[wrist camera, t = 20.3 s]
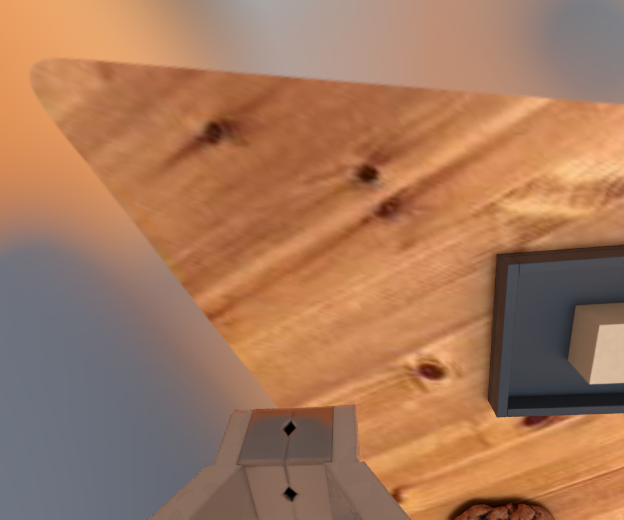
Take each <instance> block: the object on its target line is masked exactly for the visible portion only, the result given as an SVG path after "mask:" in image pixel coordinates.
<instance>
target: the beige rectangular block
mask: <svg viewBox="0 0 624 520" xmlns="http://www.w3.org/2000/svg"><path fill="white" fill-rule="evenodd" d="M568 361H569V362H570V363H571V364H572V365H573V367H574V368H575V369H576V370H577V371H578V372H579V373H580V374H581V375H582V377H583V378H584V379H585V380H586V381H587V382H588V383H589V384H609V383H624V303H608V304H590V305H576V307H575V314H574V321H573V328H572V335H571V341H570V348H569V355H568Z"/></svg>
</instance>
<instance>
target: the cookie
mask: <svg viewBox="0 0 624 520" xmlns="http://www.w3.org/2000/svg"><path fill="white" fill-rule="evenodd" d="M454 520H555V518H554V517H553V516H552V515H551V514H550V513H549V512H548V511H546V510H545V509H544V508H541V507H540V506H538V507H536V506H529V505H527V506H526V504H520V503H519V504H518V505H515V507H514V506H513V504H511V503H510V504H508V505H506V506H501V507H496V508H490V506H487V505H484V504H482V505H474V506H472V507H470V508H469V509H468V510H466V511H465V512H464V513H463V514H462V515H460V516H458V517H457V518H456V519H454Z"/></svg>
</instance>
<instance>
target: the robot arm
mask: <svg viewBox="0 0 624 520" xmlns="http://www.w3.org/2000/svg"><path fill="white" fill-rule="evenodd" d="M148 520H411V519H410V518H409V517H408V515H407V514H406V513H405V512H404V510H403V509H402V508H401V507H400V505H399V504H398V503H397V502H396V500H395V499H394V498H393V497H392V495H391V494H390V493H389V492H388V490H387V489H386V488H385V487H384V486H383V484H382V483H381V482H380V481H379V479H378V478H377V477H376V476H375V474H374V473H373V472H372V471H371V469H370V468H369V467H368V466H367V464H366V463H365V462H361V456H360V445H359V435H358V425H357V414H356V407H355V405H338V406H325V407H307V408H283V409H255V410H235V411H234V412H233V413H232V414H231V416H230V419H229V422H228V425H227V428H226V431H225V433H224V436H223V439H222V442H221V445H220V447H219V450H218V453H217V455H216V458H215V461H214V464H213V466H206V467H205V468H204V469H203V470H202V471H201V472H200V473H199V474H197V475H196V476H195V477H194V478H193V479H192V480H191V481H190V482H189V483H188V484H186V485H185V486H184V487H183V488H182V489H181V490H180V491H179V492H178V493H177V494H175V495H174V496H173V497H172V498H171V499H170V500H169V501H168V502H167V503H166V504H164V505H163V506H162V507H161V508H160V509H159V510H158V511H157V512H156V513H155V514H153V515H152V516H151V517H150V518H149V519H148Z"/></svg>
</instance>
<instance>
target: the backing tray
mask: <svg viewBox="0 0 624 520" xmlns="http://www.w3.org/2000/svg"><path fill="white" fill-rule="evenodd" d="M608 303H624V245H621V246H608V247H594V248H580V249H567V250H553V251H540V252H526V253H512V254H499V255H497V266H496V282H495V298H494V314H493V330H492V346H491V362H490V378H489V394H488V401H489V403H490V405H491V407H492V409H493V411H494V413H495V415H496V417H520V416H551V415H582V414H613V413H624V383H609V384H589V383H588V382H587V381H586V380H585V379H584V378H583V377H582V375H581V374H580V373H579V372H578V371H577V370H576V369H575V368H574V367H573V365H572V364H571V363H570V362H569V361H568V355H569V348H570V341H571V335H572V328H573V321H574V314H575V307H576V305H590V304H608Z"/></svg>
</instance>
